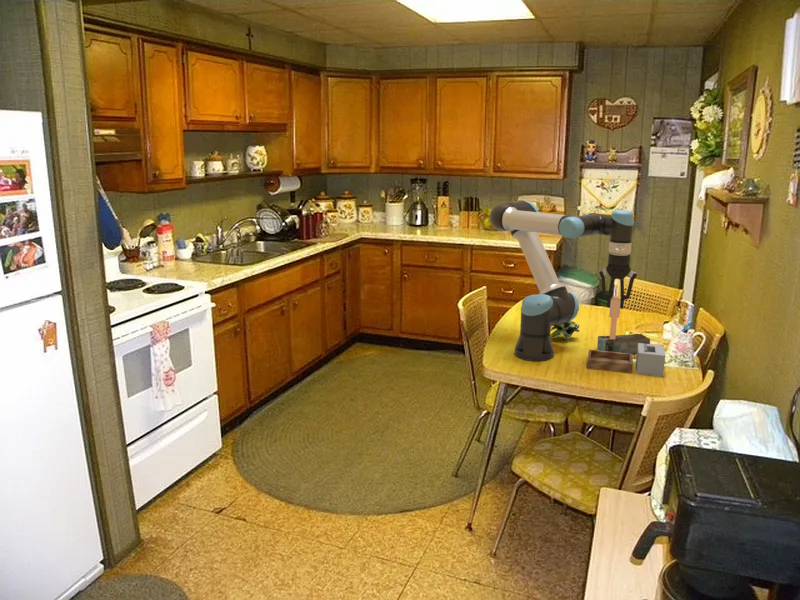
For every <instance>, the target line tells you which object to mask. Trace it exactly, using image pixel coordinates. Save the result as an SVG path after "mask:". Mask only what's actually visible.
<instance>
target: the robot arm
mask: <svg viewBox="0 0 800 600" xmlns="http://www.w3.org/2000/svg"><path fill="white" fill-rule="evenodd" d="M634 216H635V215H634V211H632V210H626V209H625V210H624V209H616V210H615V209H614V210H613V211H612V212H611V214H605V213H597V212H586V213H584V214H583V215H569V214H568V215H566V214H558V213H557V214H556V213H550V212H549V213H548V212H540V211H539V208H538V207H537V205H535V204H534V203H533V202H531V201H529V200H517V201H508V202H507V201H505V202H499V203H497V204H495V205H494V206H493V207H492V209H491V210H490V212H489V217H488V218H489V223H490V225H491V227H493V228H494V229H495V230H496V231H499V232H510V235H511V237H512V238H513V239H515V240H517V242H518V244H519V246H520V249H521V250H522V253H523V255H524V257H525V260H526V262H527V265H528V267H529V270H530V272H531V274H532V276H533V279H534V281H535V283H536V286H537V288H538V291H539V293H538V294H531V295H528V296H525V297H524V298H523V300H521V307H520V328H519V329H520V333H519V337H518V340H517V341H516V343H515V347H514V355H515V356H516V357H518V358H519V359H522V360H525V361H533V362H542V361H543V362H544V361H547V360H549V361H550V360H551V359H553V358H554V355H555V354H554V353H555V351H554V345H553V342H552V338H550V335H551V332H552V331H551V329H552V327H554V325H558V324H561V323H566V322H568V321H573V320H574V319H575V318H577V315H578V314H579V313H578V312H579V311H580V310H579V309H580V302H579V300H578V298H577V296H576V295H575V294H573V293H572V292H571V291H570V292H569V291H568V289H567V287H566V285H565V284H562V283H560V280H559V278H558V276H557V274H556V271H555V269H554V267H553V264H552V262H551V260H550V258H549V255H548V253H547V250H546V249H545V247H544V244H543V241H542V239H541V238H540V235H539V233H540V234H541V233H542V234H547V235H555V236H562V237H563V238H564V239H565V238H566V239H577V238H583V237H589V236H595V235H601V236H609V242H608V243H609V245H608V252H609V253H608V255H607V256H608V257H607V266H606V267H605V268H604V269H600V270H599V271H598V272H599V276H600V278H601V279H600V280H601V290H602V294H601V295H602V297H603V298H605V299H606V301H607V302H606V308H607V309H609V315H608V316H609V318H611V316H612V304H613V296H612V295H613V290H614V285H615V281H616V280H619V283H620V286H619V287H620V289H619V290H620V298H619V302H618V314H617V319H620V312H621V310H622V309H624V304H625V301H626V300H629V299H630V298H631V292H632V288H633V285H634V281H635V279H636V277H637V275H638V274H637V273H638V272H636V271H633V270H631V266H630V265H631V253H632V243H633V242H632V241H633V231H634V230H633V228H634V224H635V223H634V222H635V221H634V218H635V217H634ZM607 274H608V276H609V277H610V283H609V288H608V291H607V289H606V288H607V287H606V285H607V283H606V275H607ZM628 275H629V281H628V286H627V290H626V294H625V281H624V280H625V278H626V277H627V276H628Z"/></svg>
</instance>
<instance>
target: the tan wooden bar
mask: <svg viewBox="0 0 800 600" xmlns="http://www.w3.org/2000/svg"><path fill="white" fill-rule="evenodd" d="M612 298H613V304H612V316H611V317H610V329H609V336H610V339H615V337H616V333H617V324H618V323H617V322H618V318H617V314H618V302H619V299H620V297H619V295H613V296H612Z"/></svg>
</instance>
